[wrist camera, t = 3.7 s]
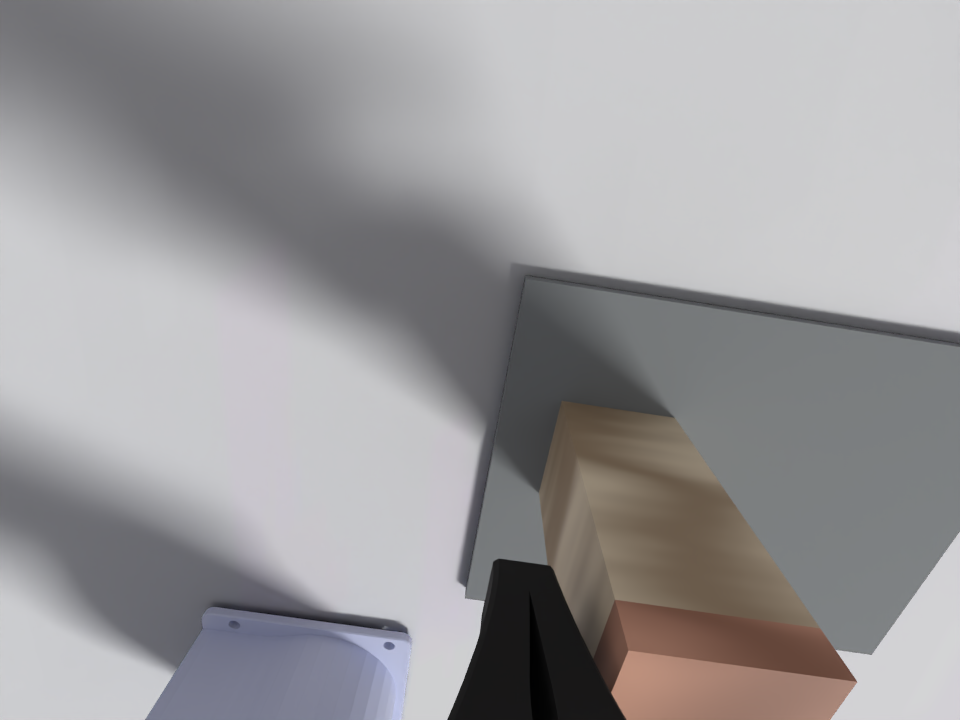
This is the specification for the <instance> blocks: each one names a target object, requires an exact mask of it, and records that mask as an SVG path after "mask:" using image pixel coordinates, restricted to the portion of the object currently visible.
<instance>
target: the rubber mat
mask: <svg viewBox="0 0 960 720" xmlns="http://www.w3.org/2000/svg"><path fill="white" fill-rule="evenodd" d="M562 401H566V402H573V403H580V404H586V405H593V406H600V407H606V408H613V409H619V410H626V411H633V412H639V413H646V414H653V415H659V416H666V417H672V418H675V419H676V420H677V422H678V423H679V425H680V426H681V428H682V429H683V431H684V432H685V433H686V435H687V436H688V438H689V439H690V441H691V442H692V444H693V445H694V446H695V448H696V449H697V451H698V452H699V454H700V455H701V457H702V458H703V459H704V461H705V462H706V464H707V465H708V467H709V468H710V470H711V471H712V472H713V474H714V475H715V477H716V478H717V480H718V481H719V483H720V484H721V485H722V487H723V488H724V490H725V491H726V493H727V494H728V496H729V497H730V498H731V500H732V501H733V503H734V504H735V506H736V507H737V509H738V510H739V512H740V513H741V514H742V516H743V517H744V519H745V520H746V522H747V523H748V525H749V526H750V527H751V529H752V530H753V532H754V533H755V535H756V536H757V538H758V539H759V540H760V542H761V543H762V545H763V546H764V548H765V549H766V551H767V552H768V553H769V555H770V556H771V558H772V559H773V561H774V562H775V564H776V565H777V566H778V568H779V569H780V571H781V572H782V574H783V575H784V577H785V578H786V579H787V581H788V582H789V584H790V585H791V587H792V588H793V590H794V591H795V593H796V594H797V595H798V597H799V598H800V600H801V601H802V603H803V604H804V606H805V607H806V608H807V610H808V611H809V613H810V614H811V616H812V617H813V619H814V620H815V621H816V623H817V624H818V626H819V627H820V629H821V630H822V632H823V633H824V634H825V636H826V637H827V639H828V640H829V642H830V643H831V645H832V646H833V647H834V649H835V650H841V651H848V652H855V653H863V654H870V655H872V653H873V652H874V651H875V649H876V648H877V646H878V645H879V644H880V642H881V641H882V639H883V638H884V637H885V635H886V634H887V632H888V631H889V630H890V628H891V627H892V625H893V624H894V623H895V621H896V620H897V618H898V617H899V616H900V614H901V613H902V611H903V610H904V609H905V607H906V606H907V604H908V603H909V602H910V600H911V599H912V597H913V596H914V595H915V593H916V592H917V590H918V589H919V588H920V586H921V585H922V583H923V582H924V581H925V579H926V578H927V576H928V575H929V574H930V572H931V571H932V570H933V568H934V567H935V565H936V564H937V563H938V561H939V560H940V558H941V557H942V556H943V554H944V553H945V551H946V550H947V549H948V547H949V546H950V544H951V543H952V542H953V540H954V539H955V537H956V536H957V535H958V533H959V532H960V344H958V343H951V342H945V341H939V340H932V339H926V338H920V337H913V336H907V335H901V334H894V333H888V332H882V331H875V330H869V329H863V328H856V327H850V326H844V325H837V324H831V323H825V322H818V321H812V320H806V319H799V318H793V317H787V316H780V315H774V314H767V313H761V312H755V311H748V310H742V309H736V308H729V307H723V306H717V305H710V304H704V303H698V302H691V301H685V300H679V299H672V298H666V297H660V296H653V295H647V294H641V293H634V292H628V291H622V290H615V289H609V288H603V287H596V286H590V285H584V284H577V283H571V282H565V281H558V280H552V279H546V278H539V277H533V276H527V275H526V276H525V281H524V286H523V291H522V297H521V302H520V307H519V312H518V318H517V323H516V328H515V333H514V338H513V344H512V349H511V354H510V359H509V365H508V370H507V375H506V380H505V386H504V391H503V396H502V401H501V407H500V412H499V417H498V422H497V428H496V433H495V438H494V443H493V449H492V454H491V459H490V464H489V470H488V475H487V480H486V485H485V491H484V496H483V501H482V506H481V511H480V517H479V522H478V527H477V532H476V538H475V543H474V548H473V553H472V559H471V564H470V569H469V574H468V580H467V585H466V593H465V598H467V599H474V600H481V601H485V598H486V593H487V588H488V584H489V579H490V574H491V569H492V565H493V561H495V560H497V559H507V560H514V561H521V562H528V563H535V564H543V565H548V563H547V555H546V547H545V539H544V531H543V523H542V515H541V506H540V498H539V490H540V486H541V482H542V478H543V474H544V470H545V466H546V462H547V458H548V454H549V450H550V446H551V442H552V438H553V434H554V430H555V426H556V422H557V418H558V414H559V410H560V406H561V402H562Z"/></svg>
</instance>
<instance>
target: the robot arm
mask: <svg viewBox="0 0 960 720" xmlns="http://www.w3.org/2000/svg"><path fill="white" fill-rule="evenodd" d="M201 620H202V628H203V630H202V631H201V632H200V634H199V635H198V637H197V639H196V640H195V642H194V643H193V645H192V646H191V648H190V650H189V651H188V653H187V654H186V656H185V658H184V659H183V661H182V662H181V664H180V665H179V667H178V669H177V670H176V672H175V673H174V675H173V676H172V678H171V680H170V681H169V683H168V684H167V686H166V688H165V689H164V691H163V692H162V694H161V695H160V697H159V699H158V700H157V702H156V703H155V705H154V707H153V708H152V710H151V711H150V713H149V714H148V716H147V718H146V719H145V720H401V719H402V712H403V705H404V697H405V690H406V683H407V676H408V668H409V661H410V654H411V646H412V638H411V637H410V636H409V635H408V634H406V633H402V632H395V631H388V630H381V629H373V628H366V627H359V626H351V625H344V624H337V623H329V622H322V621H315V620H307V619H300V618H293V617H285V616H278V615H271V614H263V613H256V612H249V611H241V610H234V609H227V608H219V607H211V608H208V609H207V610H206V611H205V613H204V614H203V616H202V619H201ZM447 720H626V718H625V716H624V715H623V713H622V711H621V709H620V708H619V706H618V704H617V702H616V701H615V699H614V697H613V695H612V693H611V692H610V690H609V688H608V686H607V684H606V683H605V681H604V679H603V677H602V675H601V673H600V671H599V669H598V667H597V666H596V664H595V662H594V660H593V658H592V656H591V654H590V651H589V649H588V647H587V645H586V643H585V641H584V639H583V637H582V635H581V633H580V631H579V629H578V627H577V625H576V623H575V620H574V618H573V616H572V614H571V611H570V609H569V607H568V604H567V602H566V600H565V597H564V595H563V593H562V590H561V588H560V585H559V583H558V580H557V577H556V575H555V572H554V570H553V568H552V567H551V566H550V565H543V564H535V563H528V562H521V561H514V560H507V559H497V560H495V561H493V565H492V569H491V574H490V579H489V584H488V588H487V593H486V598H485V603H484V607H483V612H482V619H481V629H480V635H479V639H478V642H477V645H476V648H475V651H474V653H473V656H472V659H471V662H470V664H469V667H468V670H467V673H466V675H465V678H464V681H463V683H462V686H461V688H460V691H459V693H458V696H457V698H456V701H455V703H454V705H453V708H452V710H451V712H450V715H449V717H448V719H447Z"/></svg>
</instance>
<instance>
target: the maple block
mask: <svg viewBox="0 0 960 720" xmlns="http://www.w3.org/2000/svg"><path fill="white" fill-rule="evenodd" d="M539 498H540V506H541V515H542V523H543V531H544V539H545V547H546V555H547V563H548V565H550V566H551V567H552V568H553V570H554V572H555V575H556V577H557V580H558V583H559V585H560V588H561V590H562V593H563V595H564V597H565V600H566V602H567V604H568V607H569V609H570V611H571V614H572V616H573V618H574V620H575V623H576V625H577V627H578V629H579V631H580V633H581V635H582V637H583V639H584V641H585V643H586V645H587V647H588V649H589V651H590V654H591V656H592V658H593V660H594V662H595V664H596V666H597V667H598V669H599V671H600V673H601V675H602V677H603V679H604V681H605V683H606V684H607V686H608V688H609V690H610V692H611V693H612V695H613V697H614V699H615V701H616V702H617V704H618V706H619V708H620V709H621V711H622V713H623V715H624V716H625V718H626V720H830V719H831V718H832V716H833V715H834V714H835V712H836V711H837V709H838V708H839V707H840V705H841V704H842V702H843V701H844V700H845V698H846V697H847V696H848V694H849V693H850V691H851V690H852V689H853V687H854V686H855V684H856V683H857V681H856V679H855V678H854V676H853V675H852V674H851V672H850V671H849V669H848V668H847V666H846V665H845V663H844V662H843V660H842V659H841V658H840V656H839V655H838V653H837V652H836V650H835V649H834V647H833V646H832V645H831V643H830V642H829V640H828V639H827V637H826V636H825V634H824V633H823V632H822V630H821V629H820V627H819V626H818V624H817V623H816V621H815V620H814V619H813V617H812V616H811V614H810V613H809V611H808V610H807V608H806V607H805V606H804V604H803V603H802V601H801V600H800V598H799V597H798V595H797V594H796V593H795V591H794V590H793V588H792V587H791V585H790V584H789V582H788V581H787V579H786V578H785V577H784V575H783V574H782V572H781V571H780V569H779V568H778V566H777V565H776V564H775V562H774V561H773V559H772V558H771V556H770V555H769V553H768V552H767V551H766V549H765V548H764V546H763V545H762V543H761V542H760V540H759V539H758V538H757V536H756V535H755V533H754V532H753V530H752V529H751V527H750V526H749V525H748V523H747V522H746V520H745V519H744V517H743V516H742V514H741V513H740V512H739V510H738V509H737V507H736V506H735V504H734V503H733V501H732V500H731V498H730V497H729V496H728V494H727V493H726V491H725V490H724V488H723V487H722V485H721V484H720V483H719V481H718V480H717V478H716V477H715V475H714V474H713V472H712V471H711V470H710V468H709V467H708V465H707V464H706V462H705V461H704V459H703V458H702V457H701V455H700V454H699V452H698V451H697V449H696V448H695V446H694V445H693V444H692V442H691V441H690V439H689V438H688V436H687V435H686V433H685V432H684V431H683V429H682V428H681V426H680V425H679V423H678V422H677V420H676V419H675V418H672V417H666V416H659V415H653V414H646V413H639V412H633V411H626V410H619V409H613V408H606V407H600V406H593V405H586V404H580V403H573V402H566V401H562V402H561V406H560V410H559V414H558V418H557V422H556V426H555V430H554V434H553V438H552V442H551V446H550V450H549V454H548V458H547V462H546V466H545V470H544V474H543V478H542V482H541V486H540V490H539Z"/></svg>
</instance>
